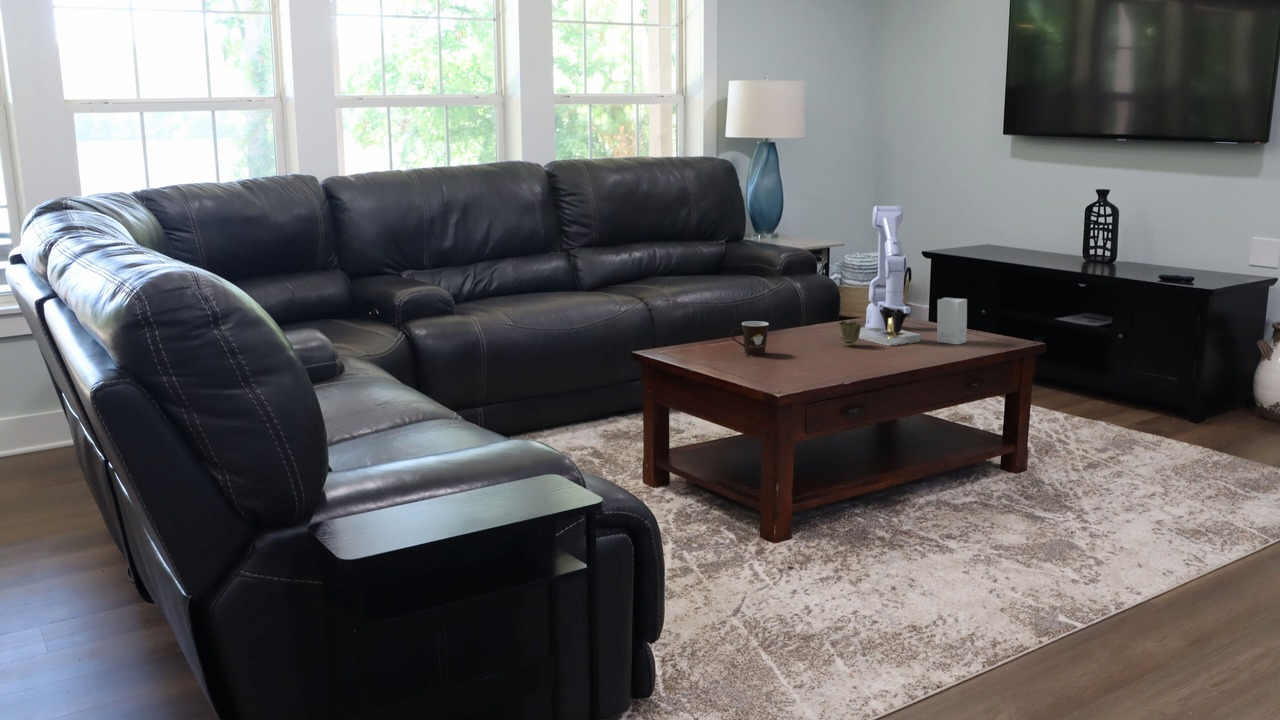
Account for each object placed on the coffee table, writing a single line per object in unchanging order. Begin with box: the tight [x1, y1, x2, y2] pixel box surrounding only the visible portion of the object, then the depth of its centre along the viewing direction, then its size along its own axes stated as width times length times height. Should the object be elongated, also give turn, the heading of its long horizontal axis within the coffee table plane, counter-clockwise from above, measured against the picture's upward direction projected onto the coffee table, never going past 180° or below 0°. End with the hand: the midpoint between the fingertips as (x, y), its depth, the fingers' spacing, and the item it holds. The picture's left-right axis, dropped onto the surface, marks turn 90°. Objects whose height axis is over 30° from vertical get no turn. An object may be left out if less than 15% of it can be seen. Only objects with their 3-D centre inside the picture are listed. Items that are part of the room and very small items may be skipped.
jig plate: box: [858, 325, 922, 347], centre depth 375 cm, size 20×14×2 cm
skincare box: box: [936, 297, 968, 345], centre depth 367 cm, size 8×6×15 cm
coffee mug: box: [730, 320, 769, 357], centre depth 353 cm, size 12×9×10 cm
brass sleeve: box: [887, 317, 899, 336], centre depth 371 cm, size 4×4×7 cm
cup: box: [838, 320, 862, 348], centre depth 364 cm, size 8×7×8 cm
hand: (892, 331), depth 371 cm, fingers closed on brass sleeve, 4 cm apart
